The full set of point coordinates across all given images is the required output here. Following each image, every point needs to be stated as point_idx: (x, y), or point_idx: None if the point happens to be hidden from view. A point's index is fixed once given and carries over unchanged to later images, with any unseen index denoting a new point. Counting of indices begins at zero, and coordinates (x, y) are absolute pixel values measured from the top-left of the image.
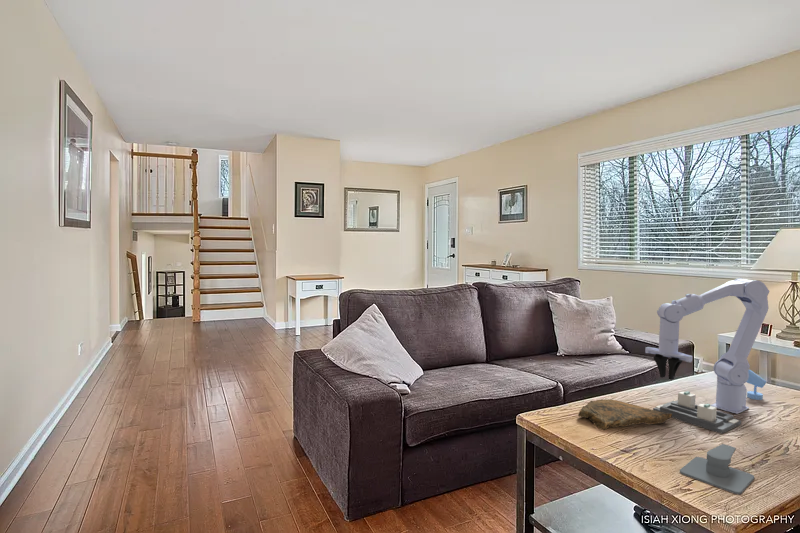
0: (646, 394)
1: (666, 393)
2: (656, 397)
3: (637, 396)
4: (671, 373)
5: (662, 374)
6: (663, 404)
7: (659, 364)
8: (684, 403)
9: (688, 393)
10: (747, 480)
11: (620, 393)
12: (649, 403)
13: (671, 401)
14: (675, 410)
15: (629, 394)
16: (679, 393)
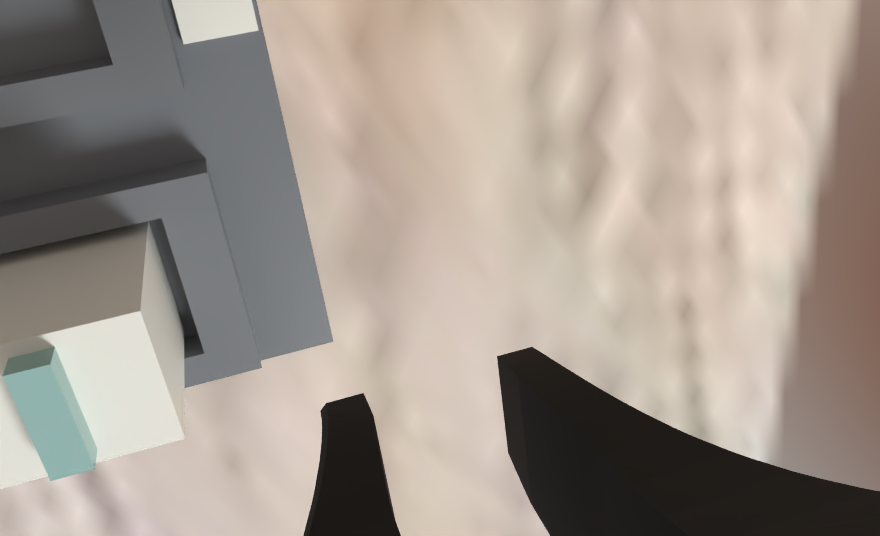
0: (660, 287)
1: None
2: (552, 315)
3: (678, 132)
4: (315, 486)
5: (521, 400)
6: (273, 95)
7: (681, 487)
8: (44, 270)
9: (36, 427)
10: None
11: (841, 19)
12: (461, 57)
13: (320, 296)
14: (9, 38)
15: (764, 98)
16: (116, 314)
